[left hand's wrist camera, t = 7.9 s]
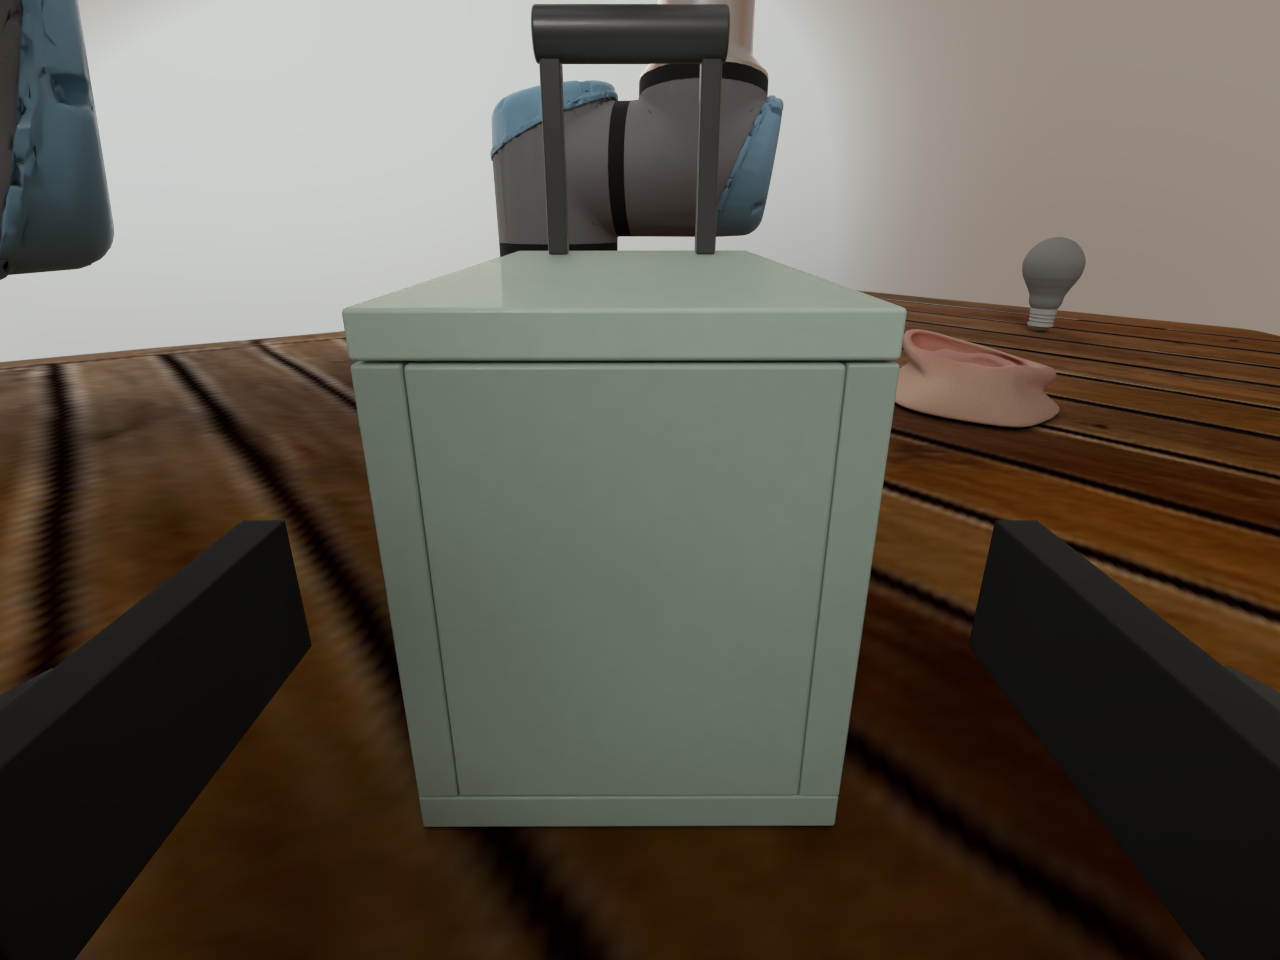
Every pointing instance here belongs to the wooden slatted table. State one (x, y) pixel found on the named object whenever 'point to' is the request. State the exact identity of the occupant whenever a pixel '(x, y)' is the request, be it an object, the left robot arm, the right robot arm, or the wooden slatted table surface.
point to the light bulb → (1051, 277)
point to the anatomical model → (972, 382)
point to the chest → (626, 582)
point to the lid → (627, 280)
